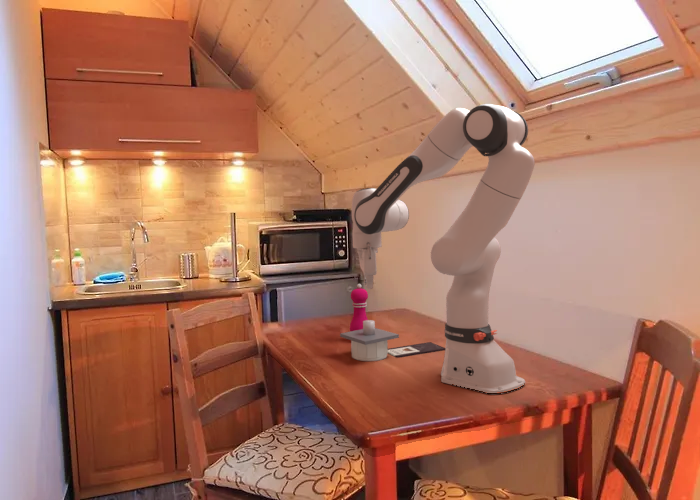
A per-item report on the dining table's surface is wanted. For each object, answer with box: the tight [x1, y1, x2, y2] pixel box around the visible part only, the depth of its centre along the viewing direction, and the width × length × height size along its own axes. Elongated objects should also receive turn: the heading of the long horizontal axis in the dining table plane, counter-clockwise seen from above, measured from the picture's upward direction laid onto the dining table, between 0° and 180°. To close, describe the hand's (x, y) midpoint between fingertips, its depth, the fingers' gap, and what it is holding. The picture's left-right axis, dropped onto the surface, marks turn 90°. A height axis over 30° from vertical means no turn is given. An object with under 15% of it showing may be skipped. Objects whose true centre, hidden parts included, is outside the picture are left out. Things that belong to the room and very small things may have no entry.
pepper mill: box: [349, 283, 369, 332], centre depth 182 cm, size 7×7×20 cm
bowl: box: [350, 340, 389, 362], centre depth 163 cm, size 11×11×6 cm
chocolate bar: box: [388, 341, 446, 359], centre depth 169 cm, size 9×1×18 cm
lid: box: [339, 319, 400, 345], centre depth 163 cm, size 13×13×5 cm
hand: (368, 286), depth 162 cm, fingers open, 8 cm apart
